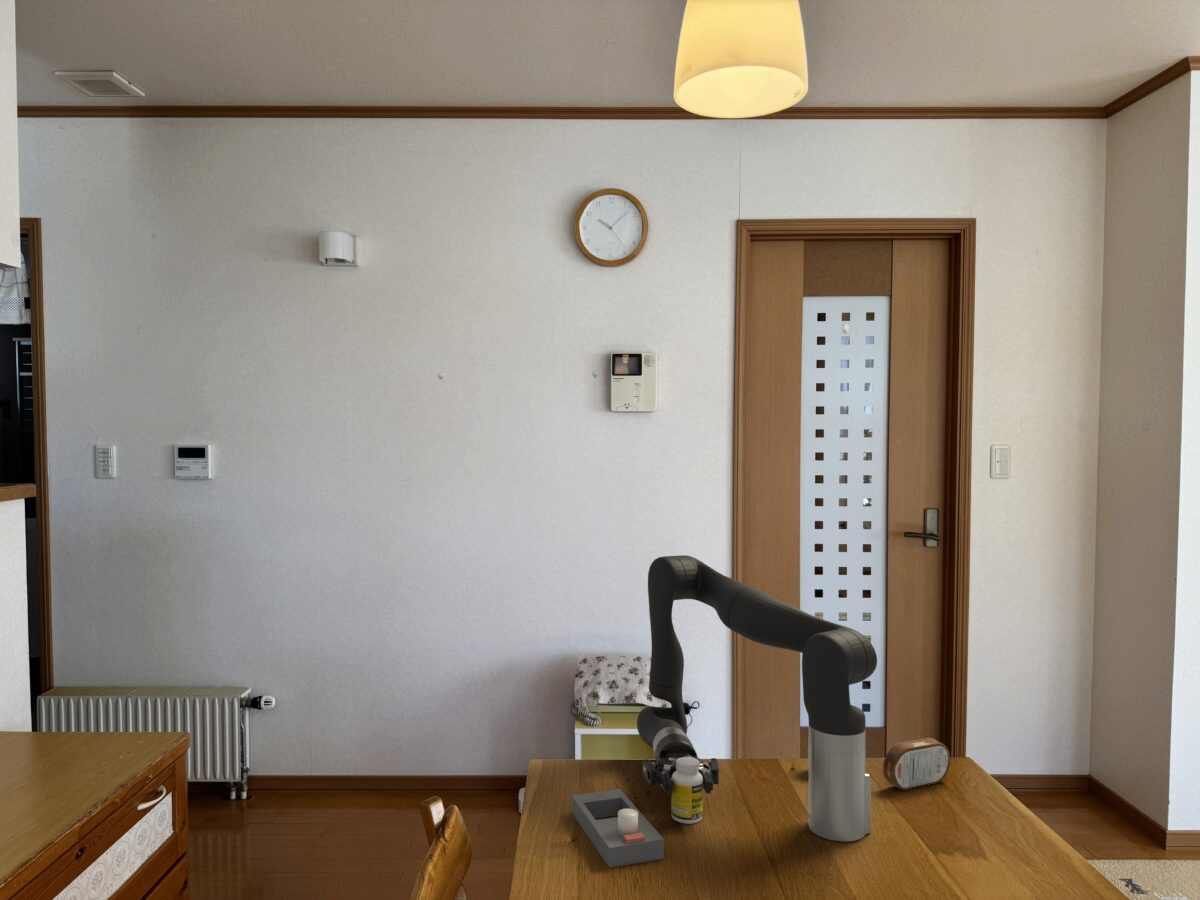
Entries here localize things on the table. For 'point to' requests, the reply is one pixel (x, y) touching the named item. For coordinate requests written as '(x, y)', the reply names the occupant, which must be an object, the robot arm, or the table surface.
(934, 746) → the tin
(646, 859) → the grey square-hole tray
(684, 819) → the supplement bottle
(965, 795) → the table surface
